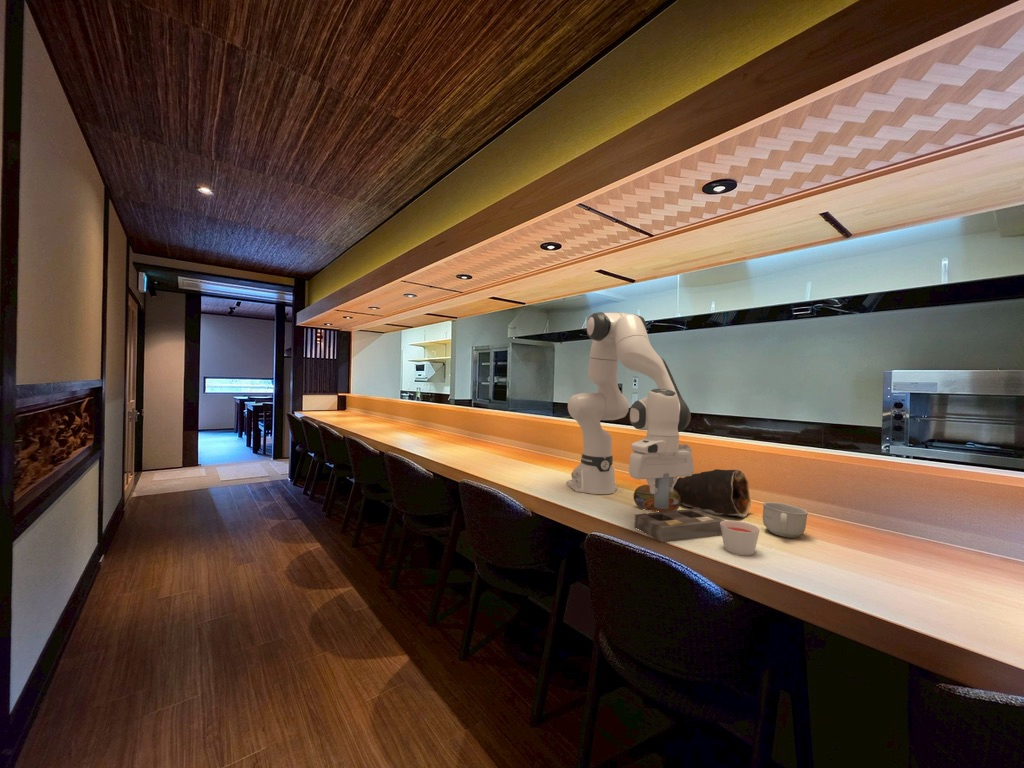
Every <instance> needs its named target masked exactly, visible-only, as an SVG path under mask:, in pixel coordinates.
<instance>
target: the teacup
mask: <svg viewBox="0 0 1024 768" xmlns="http://www.w3.org/2000/svg"><path fill="white" fill-rule="evenodd" d="M762 505H763V507H762V509H763V510H762V523H763V525H764V526H765V528H766V529H768V531H769V532H770V533H772V534H774V535H777V536H781V537H784V538H790V539H791V538H792V539H793V538H797V537H799V536H802V535H803V534H804V533H805V531H806V528H807V527H806V526H807V520H808V514H809V512H808V510H806V509H804V508H801V507H798V506H796V505H793V504H787V503H783V502H775V501H774V502H773V501H766V502H763V503H762Z"/></svg>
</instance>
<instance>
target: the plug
mask: <svg viewBox="0 0 1024 768" xmlns="http://www.w3.org/2000/svg"><path fill="white" fill-rule="evenodd" d="M654 485H655V487H657V488H658V493H657V494H654V507H655V508H659V509H668V508H669V474H664V476H663V478H655V482H654Z"/></svg>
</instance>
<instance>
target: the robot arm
mask: <svg viewBox="0 0 1024 768" xmlns="http://www.w3.org/2000/svg"><path fill="white" fill-rule="evenodd" d="M586 334H587V336H588V338H589V339H591V340H592V342H591V345H590V346H591V347H590V352H589V360H588V369H587V375H588V379H589V381H591V382H592V383H594V384H596V386H597V392H580V393H577V394H573V395H572V396H570V398H569V399H568V402H567V411H568V414H569V415H570V417H571V418H572V419H573V420H574V421H575V422H577V424H578V425H579V427H580V429H581V432H582V438H583V441H582V442H583V444H582V445H583V453H582V454H581V456H580V462H579V464H578V465H577V466H576V467H575V468H574V469H572V472H571V479H570V480H566V483H565V484H566V485H568V486H569V487H570V489H572V490H573V491H574V490H575V491H574V492H576V493H586V494H592V495H610V494H614V493H615V492H616V490H618V486H617V485H616V476H615V474H616V473H615V468H614V467H613V464H614V463H613V458H614V457H613V455H612V449H613V446H612V445H613V443H612V442H613V441H612V440H613V439H612V436H611V434H610V433H609V432H608V431H607V430H605V429H603V428H602V425H601V421H617V420H619V419H623V418H625V417H626V416H627V415H628V414H629V415H628V418H629V419H628V420H629V422H630V424H631V425H632V426H633V428H635V429H636V430H639V431H647V432H646V437H644V438H642V439H640V440H636V441H634V442H633V443H631V451H633V452H631V454H630V456H629V467H628V475H629V476H630V477H631V478H632V479H634V480H646V483H647V485H649V486H650V493H652V494H657V493H658V488H657V487H655V478H663V476H664V474H669V493H672V492H673V487H674V485H675V483H676V482H677V479H678V478H680V477H682V478H683V477H686V476H692V474H694V472H695V471H694V470H695V469H694V460H693V454H692V452H693V450H692V448H691V446H690V445H688V444H687V443H686V444H685V443H684V444H683V443H682V444H680V434H679V433H680V432H682V431H684V430H685V429H686V428H687V427H688V426H689V424H690V422H691V421H692V420H691V418H692V415H691V410H690V407H689V406H688V404H687V403H686V402H685V400H684V398H683V397H682V395H681V392H680V391H679V389H678V386H677V384H676V383H677V382H675V380H674V377H673V375H672V373H671V370H670V368H669V366H668V364H667V362H666V360H665V359H664V358H662V357H661V356H660V355H659V354H658V352H656V350H655V349H654V347H652V346H653V345H652V344H651V341H650V339H649V335H648V332H647V322H646V320H645V318H644V317H643V316H641V315H638V314H635V313H634V314H633V313H626V312H620V311H619V312H602V311H600V312H599V311H598V312H595V313H594V312H593V313H592V314H591V315H590V316H589V318H588V320H587V322H586ZM619 362H620V363H621V364H622V366H624V367H625V368H627V370H630V371H633V372H637V373H640V374H642V375H645V376H646V377H648V378H650V379H652V380H653V381H654V382H655V384H656V386H657V388H653V389H651V390H649V392H648V393H647V394H648V395H647V396H644V397H643V398H642V399H639V400H635V401H634V402H633V403H632V404H631V406H629V405H630V404H629V401H628V399H627V397H626V396H624V394H623V393H622V392H621V390H620V388H619V385H618V379H617V375H618V374H617V373H618V363H619Z"/></svg>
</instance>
